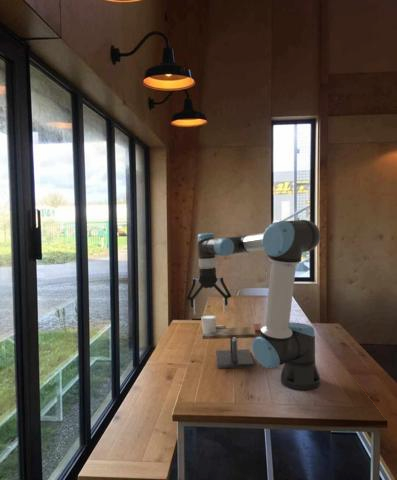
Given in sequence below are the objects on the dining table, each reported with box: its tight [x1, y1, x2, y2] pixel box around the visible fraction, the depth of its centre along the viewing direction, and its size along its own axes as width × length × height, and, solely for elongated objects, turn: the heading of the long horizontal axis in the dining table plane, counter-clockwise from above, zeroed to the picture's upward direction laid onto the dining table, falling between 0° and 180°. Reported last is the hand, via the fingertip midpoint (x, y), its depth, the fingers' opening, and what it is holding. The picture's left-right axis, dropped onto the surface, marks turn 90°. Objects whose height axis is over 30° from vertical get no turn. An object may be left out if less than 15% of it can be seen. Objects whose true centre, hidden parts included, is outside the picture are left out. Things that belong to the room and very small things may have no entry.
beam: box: [201, 323, 262, 341], centre depth 180 cm, size 28×11×4 cm, turn 90°
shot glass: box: [200, 314, 217, 333], centre depth 180 cm, size 7×7×7 cm
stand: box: [215, 326, 255, 369], centre depth 180 cm, size 16×18×13 cm
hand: (209, 313), depth 179 cm, fingers open, 13 cm apart
